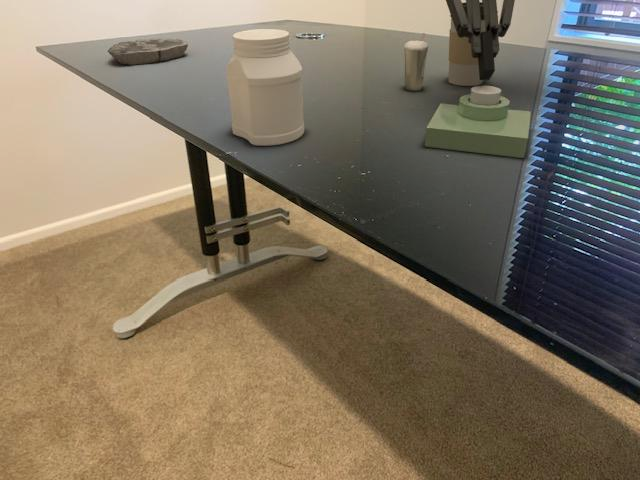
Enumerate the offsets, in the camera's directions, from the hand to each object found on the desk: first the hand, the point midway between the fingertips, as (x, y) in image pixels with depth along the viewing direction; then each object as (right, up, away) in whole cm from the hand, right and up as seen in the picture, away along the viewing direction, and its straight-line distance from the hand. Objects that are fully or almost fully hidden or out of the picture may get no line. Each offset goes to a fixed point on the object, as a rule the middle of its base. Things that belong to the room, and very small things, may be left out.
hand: (487, 75), depth 76 cm
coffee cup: (+5, +8, +29) cm, 30 cm away
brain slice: (-70, +22, +54) cm, 91 cm away
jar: (-33, -8, +6) cm, 35 cm away
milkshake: (-6, +6, +26) cm, 27 cm away
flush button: (0, -4, +2) cm, 4 cm away
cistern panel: (-1, -9, +2) cm, 9 cm away
